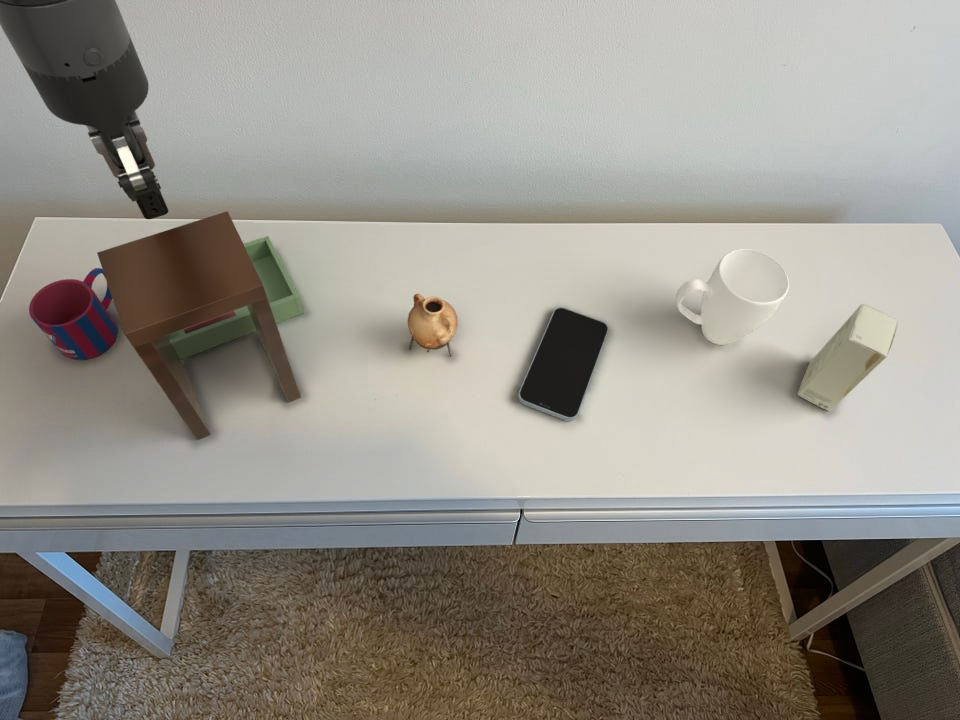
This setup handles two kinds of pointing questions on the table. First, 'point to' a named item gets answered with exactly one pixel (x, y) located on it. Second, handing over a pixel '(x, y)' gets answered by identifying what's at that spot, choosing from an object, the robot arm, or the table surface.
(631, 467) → the table surface
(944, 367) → the table surface
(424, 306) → the pot
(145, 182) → the robot arm
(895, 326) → the cosmetic box
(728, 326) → the mug
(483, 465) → the table surface
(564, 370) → the smartphone
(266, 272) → the tray
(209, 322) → the eraser
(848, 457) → the table surface
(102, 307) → the cup
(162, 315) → the walnut stand
